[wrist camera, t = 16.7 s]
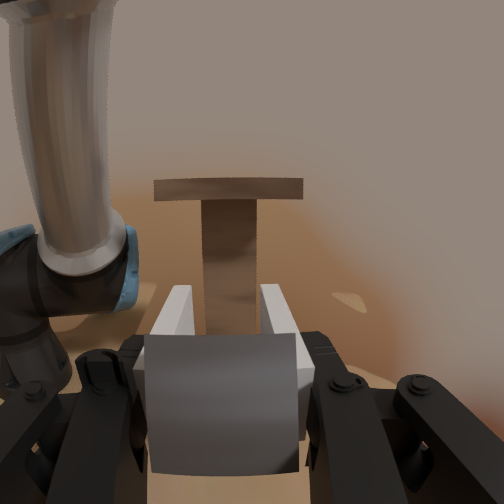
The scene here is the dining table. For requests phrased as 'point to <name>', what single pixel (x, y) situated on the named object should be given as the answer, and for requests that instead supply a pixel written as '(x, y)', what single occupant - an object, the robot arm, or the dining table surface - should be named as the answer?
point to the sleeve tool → (222, 404)
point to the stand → (229, 242)
